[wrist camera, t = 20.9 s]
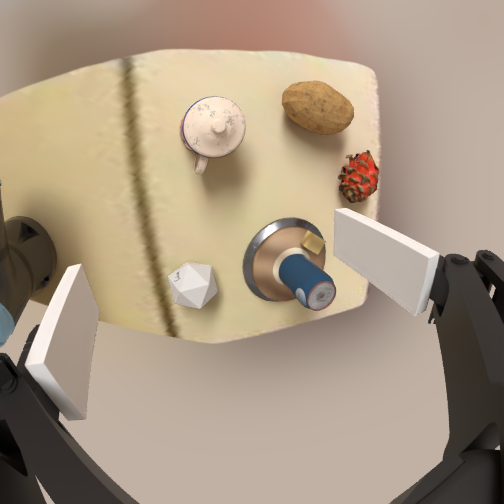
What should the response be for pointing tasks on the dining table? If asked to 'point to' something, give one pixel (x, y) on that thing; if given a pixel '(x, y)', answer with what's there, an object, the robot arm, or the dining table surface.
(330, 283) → the soda can
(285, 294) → the turntable
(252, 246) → the turntable base
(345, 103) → the potato
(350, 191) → the dragon fruit
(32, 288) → the robot arm
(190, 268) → the die
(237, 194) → the dining table surface
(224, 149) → the teacup with lid
